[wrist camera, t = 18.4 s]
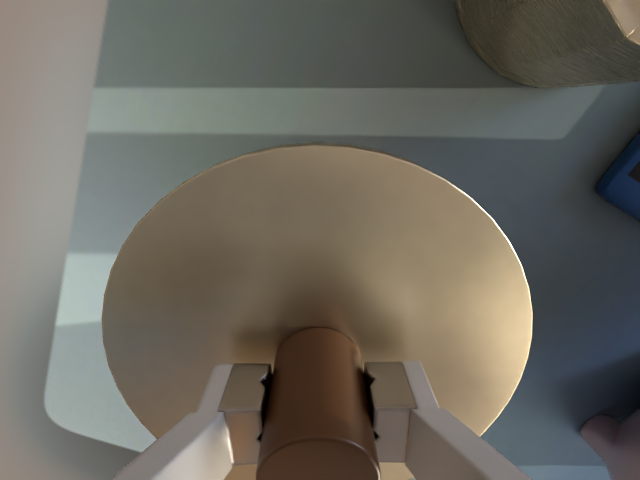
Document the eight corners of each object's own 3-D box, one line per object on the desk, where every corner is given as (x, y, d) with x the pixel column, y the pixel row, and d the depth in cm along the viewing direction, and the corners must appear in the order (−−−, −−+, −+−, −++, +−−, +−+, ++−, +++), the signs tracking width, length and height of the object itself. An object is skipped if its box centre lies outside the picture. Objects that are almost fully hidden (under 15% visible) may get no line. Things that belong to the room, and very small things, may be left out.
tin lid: (73, 143, 9) (-159, 180, 5) (554, 135, 9) (779, 166, 5) (163, 468, 14) (91, 637, 9) (478, 463, 14) (552, 631, 9)
